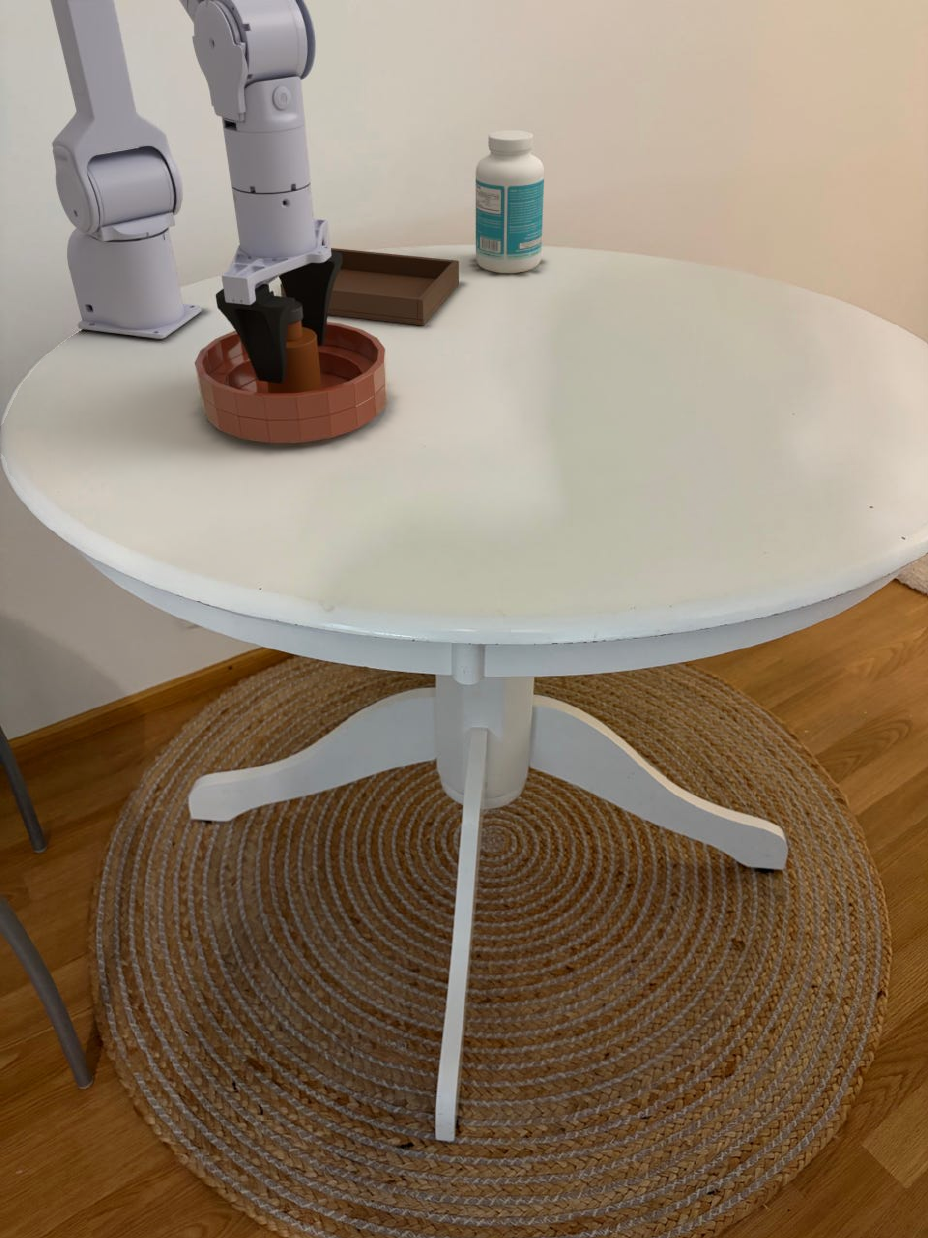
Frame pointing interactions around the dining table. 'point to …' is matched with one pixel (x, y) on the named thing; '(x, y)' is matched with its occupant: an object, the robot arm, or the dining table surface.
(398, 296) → the tray
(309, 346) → the bottle
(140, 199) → the robot arm
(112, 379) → the dining table surface
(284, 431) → the bowl
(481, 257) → the pill bottle
